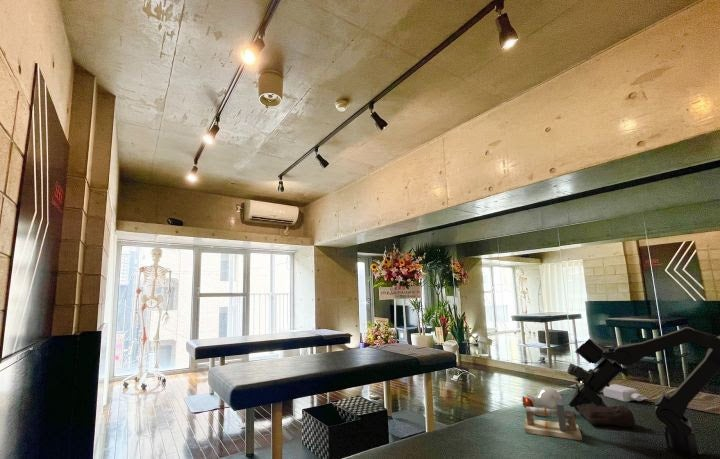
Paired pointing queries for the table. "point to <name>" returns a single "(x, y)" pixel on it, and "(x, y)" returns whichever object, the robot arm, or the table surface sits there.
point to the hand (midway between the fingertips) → (570, 405)
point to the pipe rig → (551, 424)
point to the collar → (561, 414)
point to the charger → (622, 393)
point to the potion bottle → (542, 399)
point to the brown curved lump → (606, 414)
